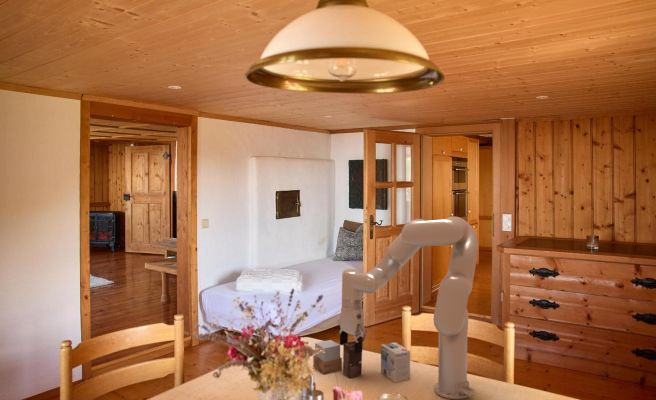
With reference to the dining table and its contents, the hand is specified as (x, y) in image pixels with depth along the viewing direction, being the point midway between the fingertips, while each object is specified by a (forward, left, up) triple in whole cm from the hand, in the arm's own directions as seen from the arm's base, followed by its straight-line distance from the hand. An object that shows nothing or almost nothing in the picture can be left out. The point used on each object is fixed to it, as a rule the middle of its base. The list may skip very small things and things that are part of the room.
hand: (350, 348), depth 182 cm
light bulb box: (-10, -13, -10) cm, 19 cm away
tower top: (+9, +4, -5) cm, 12 cm away
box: (-1, 0, -10) cm, 10 cm away
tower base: (+9, +5, -10) cm, 15 cm away
